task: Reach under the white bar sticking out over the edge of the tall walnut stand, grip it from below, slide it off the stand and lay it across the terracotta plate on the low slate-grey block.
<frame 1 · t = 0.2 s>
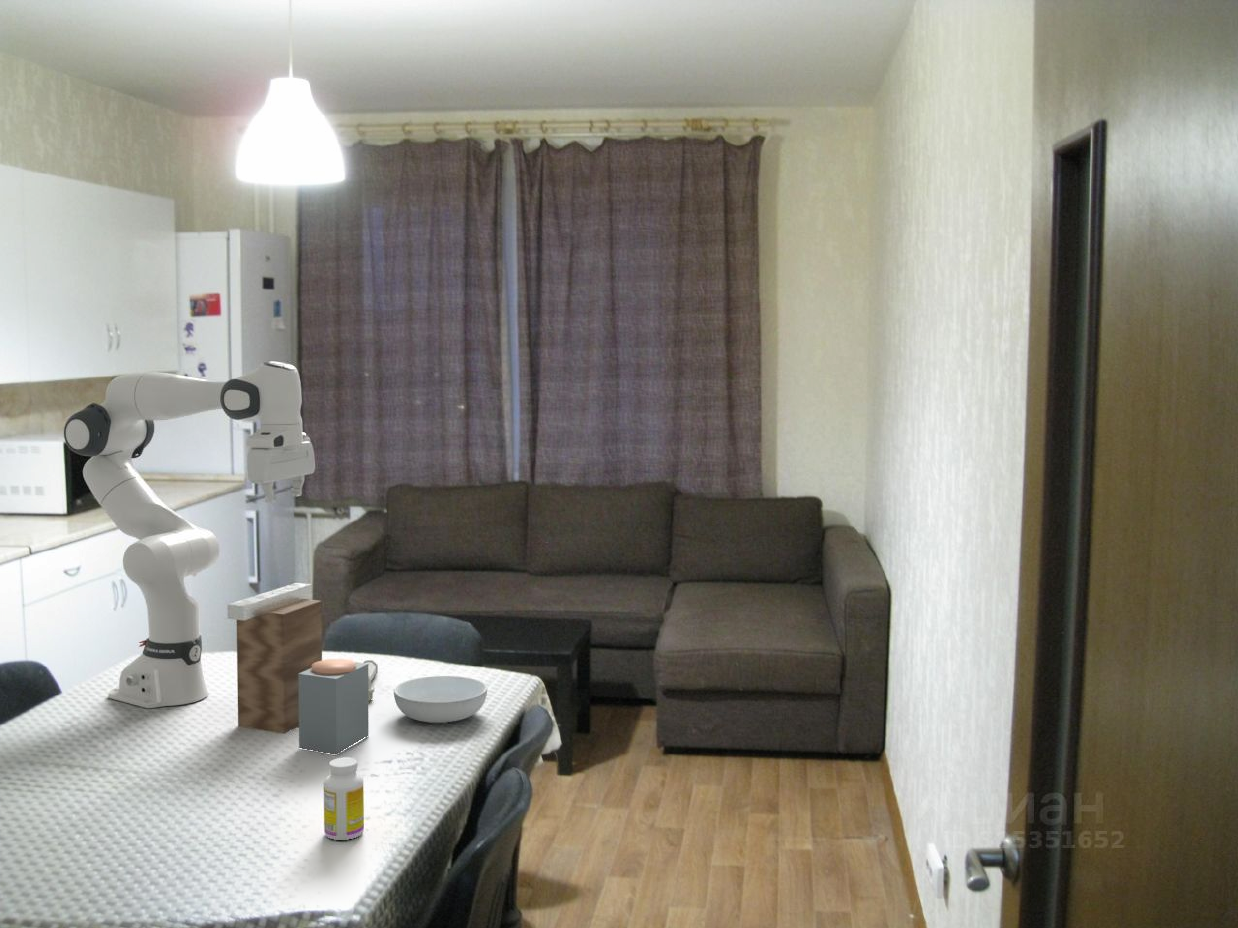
hand: (283, 499, 263), 49 cm above the table, tool pointing down, fingers open, 8 cm apart
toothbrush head: (365, 690, 289), on the table
serving bowl: (440, 718, 268), on the table
supplement bottle: (344, 835, 205), on the table
white bar: (271, 607, 258), point 26 cm above the table, touching stand
low block: (334, 743, 250), on the table
stand: (280, 720, 264), on the table
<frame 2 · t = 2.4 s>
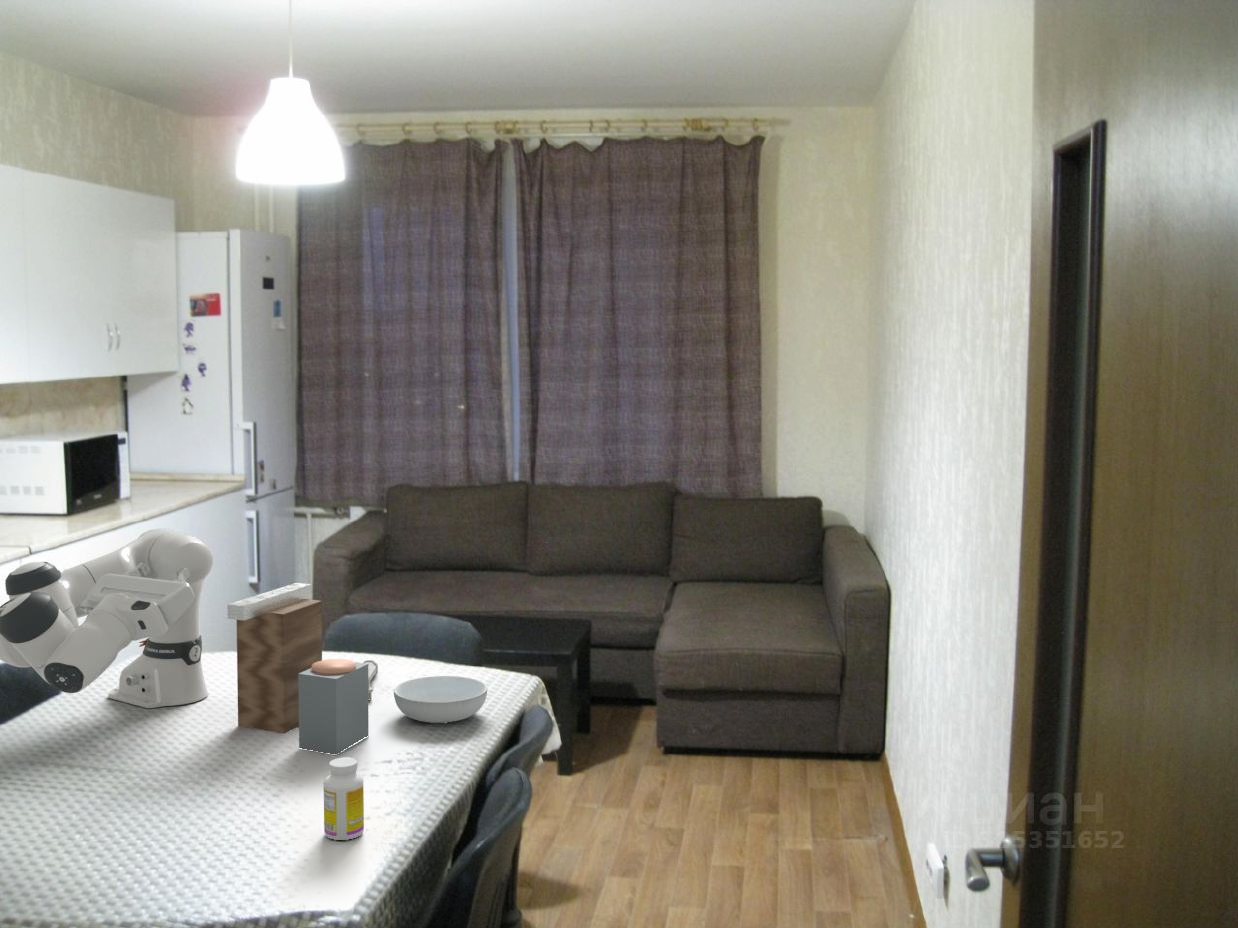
hand: (165, 568, 227), 40 cm above the table, tool pointing upward, fingers open, 8 cm apart
nothing on the table moved.
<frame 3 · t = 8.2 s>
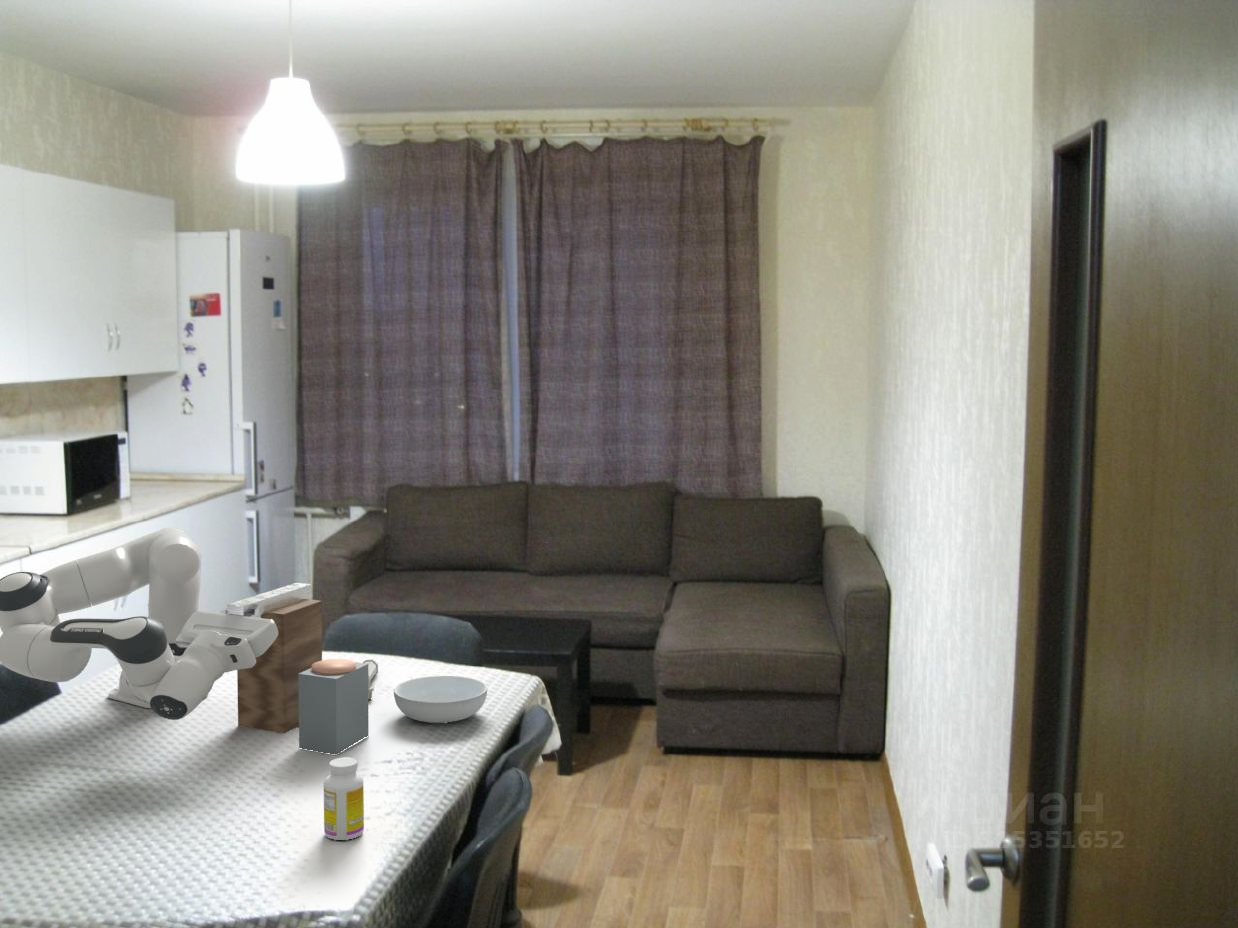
hand: (250, 605, 251), 28 cm above the table, tool pointing upward, fingers closed on white bar, 4 cm apart
white bar: (271, 607, 258), point 26 cm above the table, touching gripper, stand
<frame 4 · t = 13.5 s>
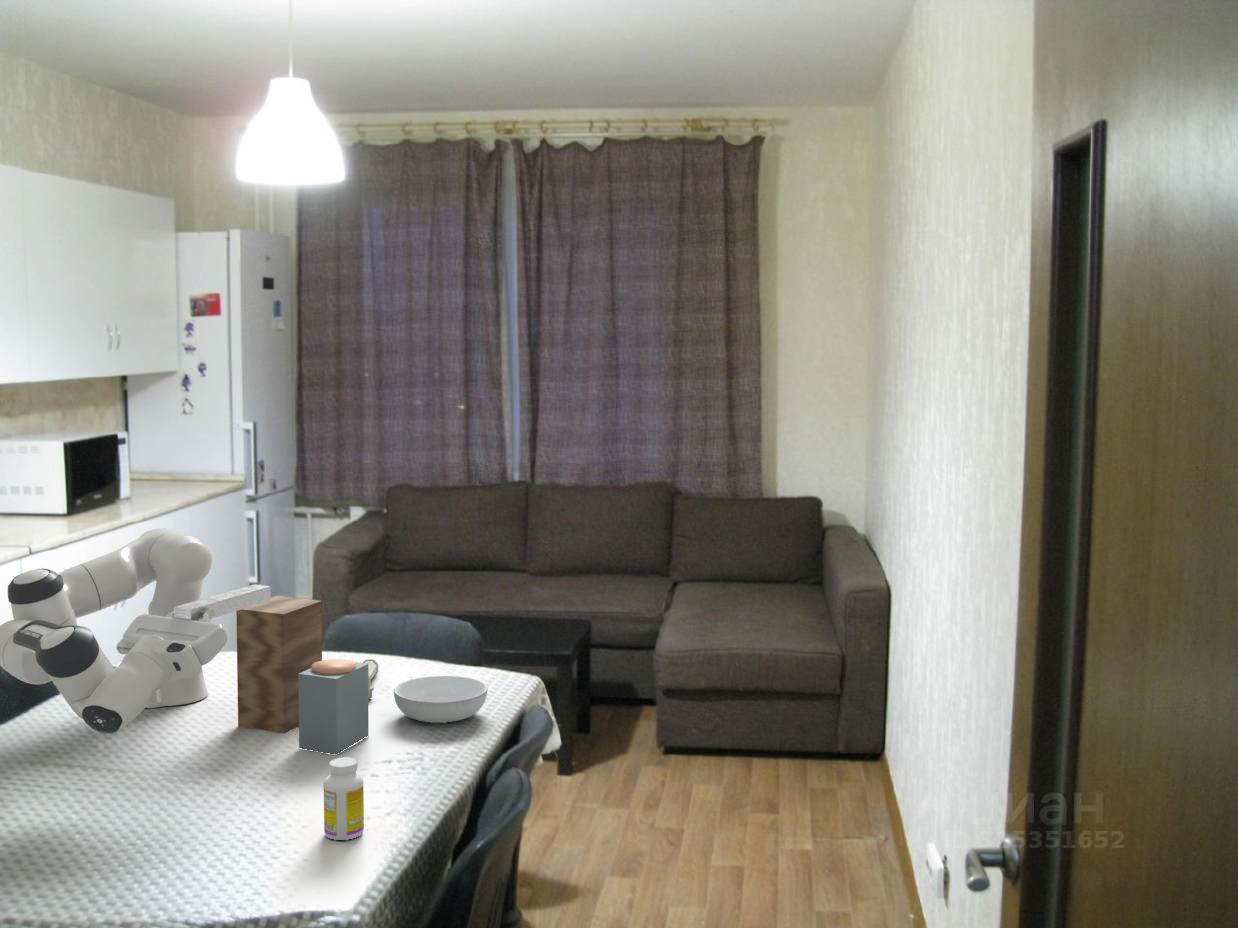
hand: (199, 608, 232), 32 cm above the table, tool pointing upward, fingers closed on white bar, 4 cm apart
white bar: (224, 610, 238), point 30 cm above the table, touching gripper
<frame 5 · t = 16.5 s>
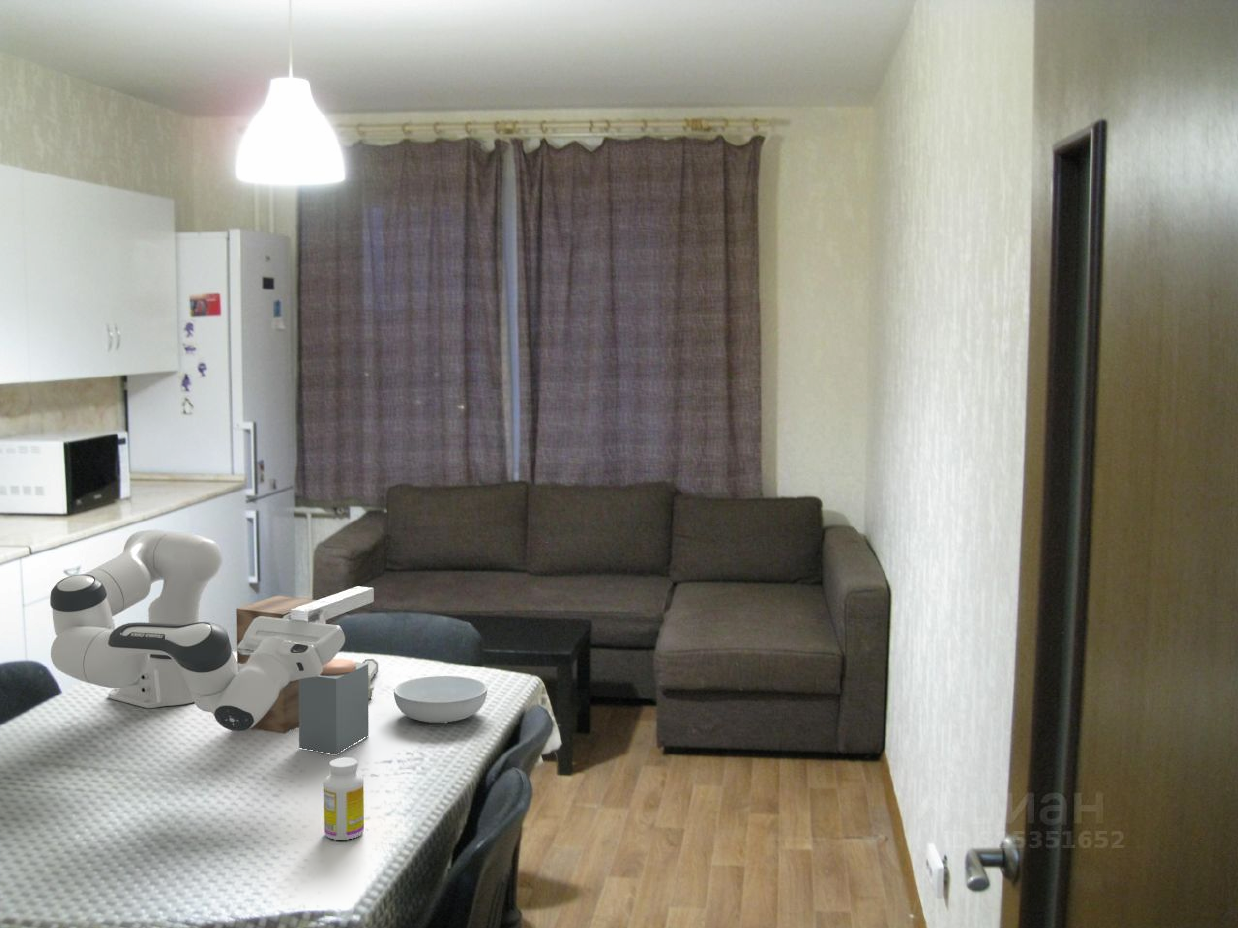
hand: (313, 610, 240), 30 cm above the table, tool pointing upward, fingers closed on white bar, 4 cm apart
white bar: (334, 612, 247), point 28 cm above the table, touching gripper
when the fingers open (20 cm above the table, at t = 19.0 s): white bar drops 1 cm, resting on low block.
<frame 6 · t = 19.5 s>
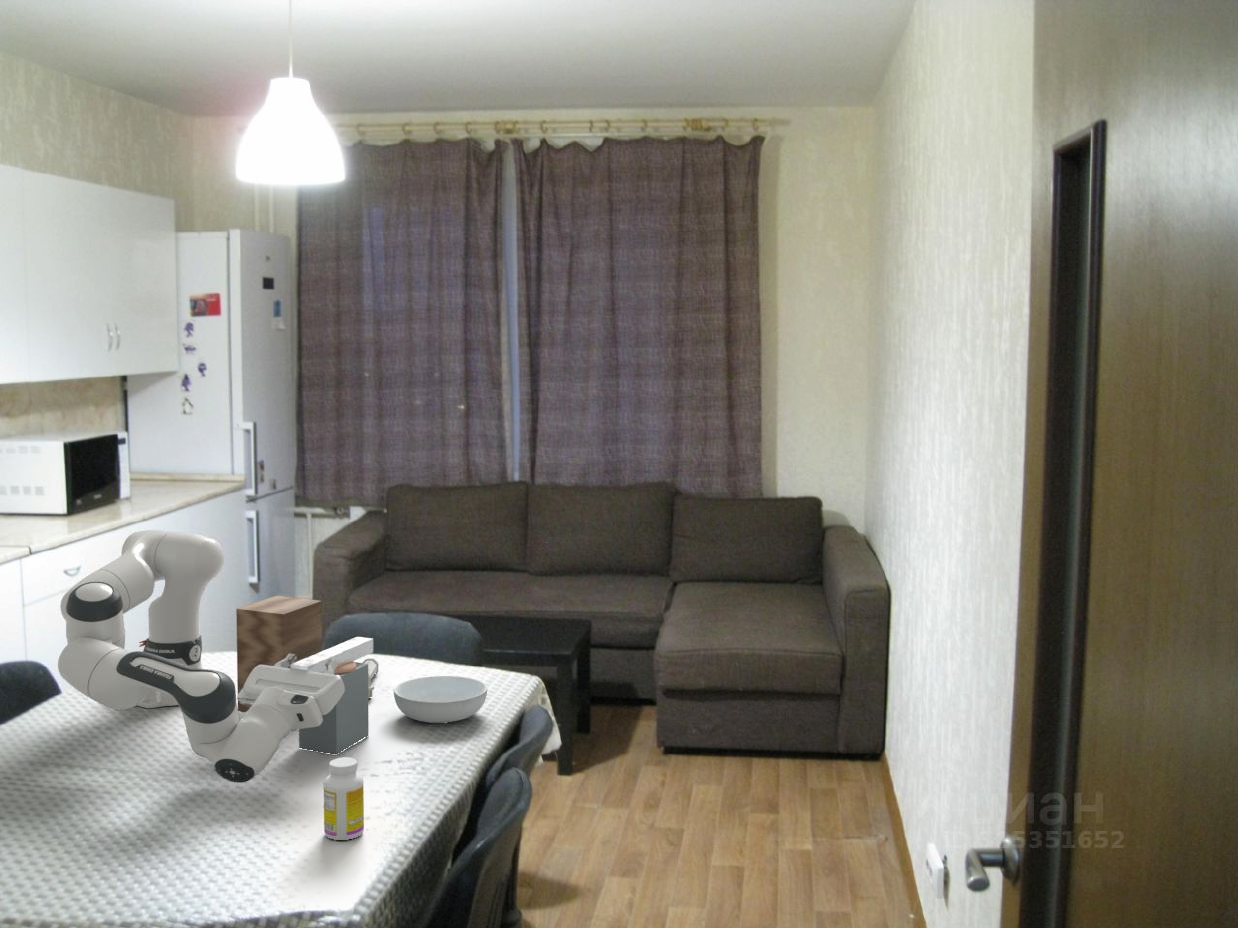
hand: (313, 658, 241), 20 cm above the table, tool pointing upward, fingers open, 8 cm apart
white bar: (333, 665, 248), point 17 cm above the table, touching low block
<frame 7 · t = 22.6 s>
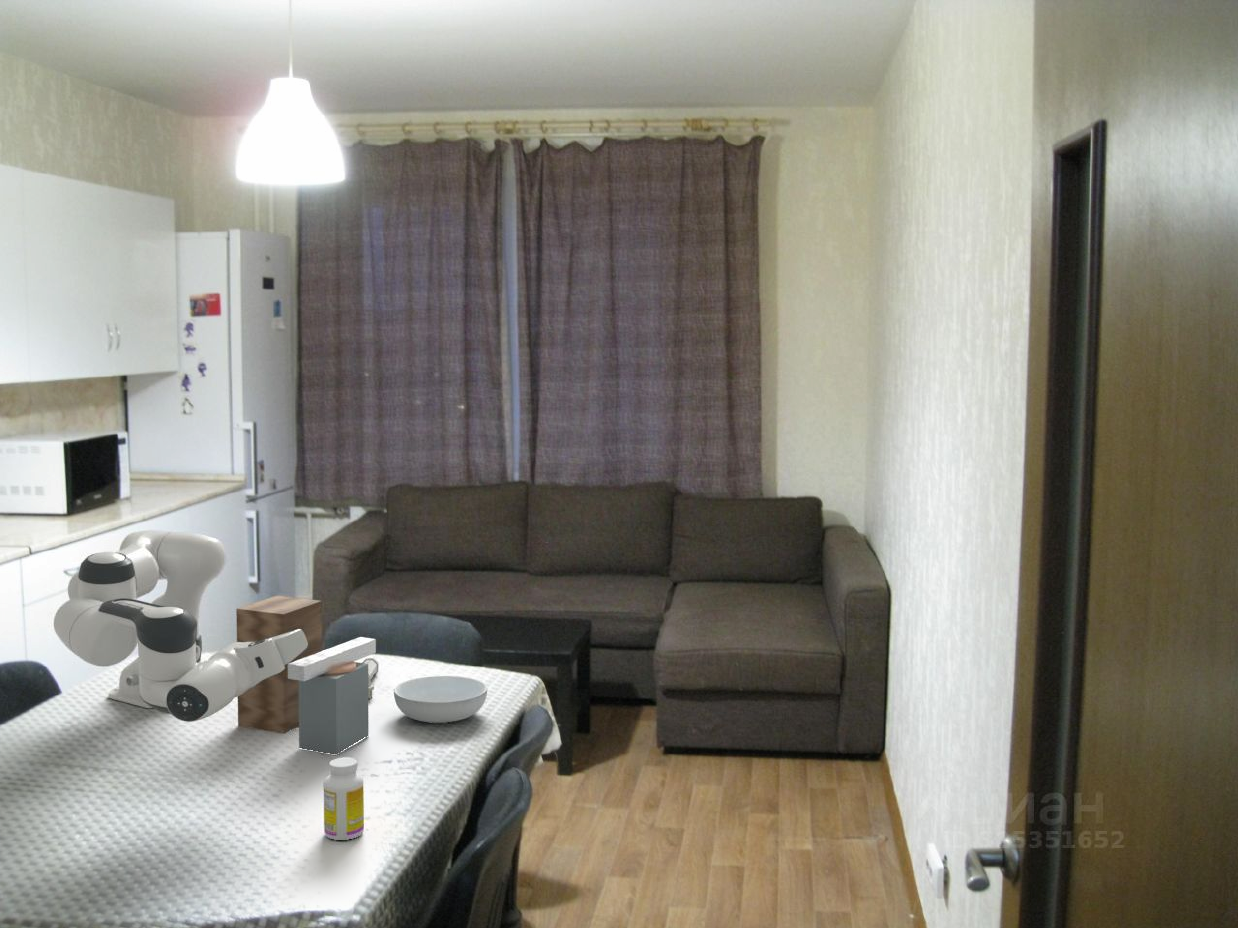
hand: (278, 639, 231), 26 cm above the table, tool horizontal, fingers open, 8 cm apart
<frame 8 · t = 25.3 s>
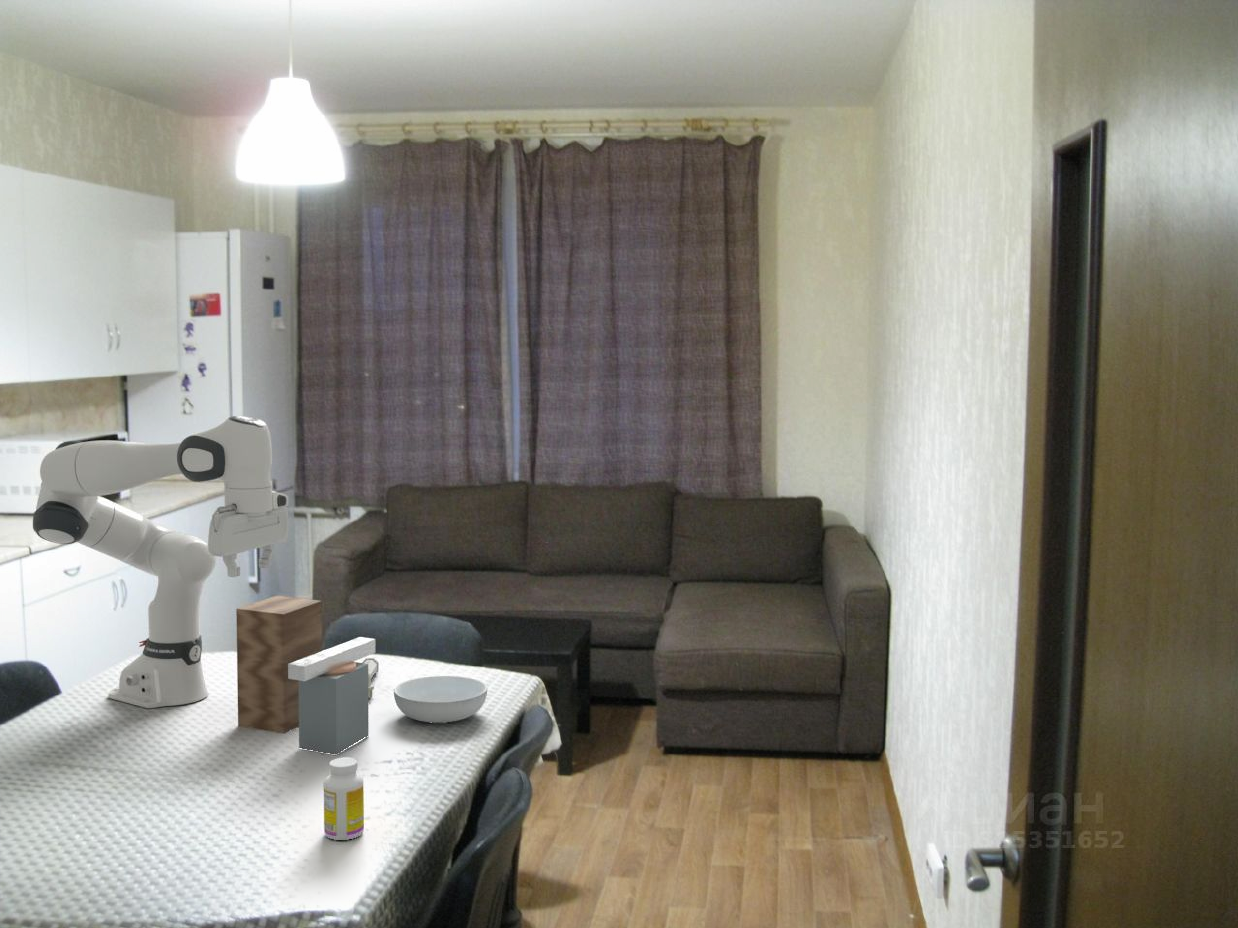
hand: (249, 571, 231), 39 cm above the table, tool pointing down, fingers open, 8 cm apart
at the end: white bar inside the target area on the low block (0.1 cm from its centre), point 16.8 cm above the low block's base; white bar touching low block; the gripper is holding nothing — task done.
